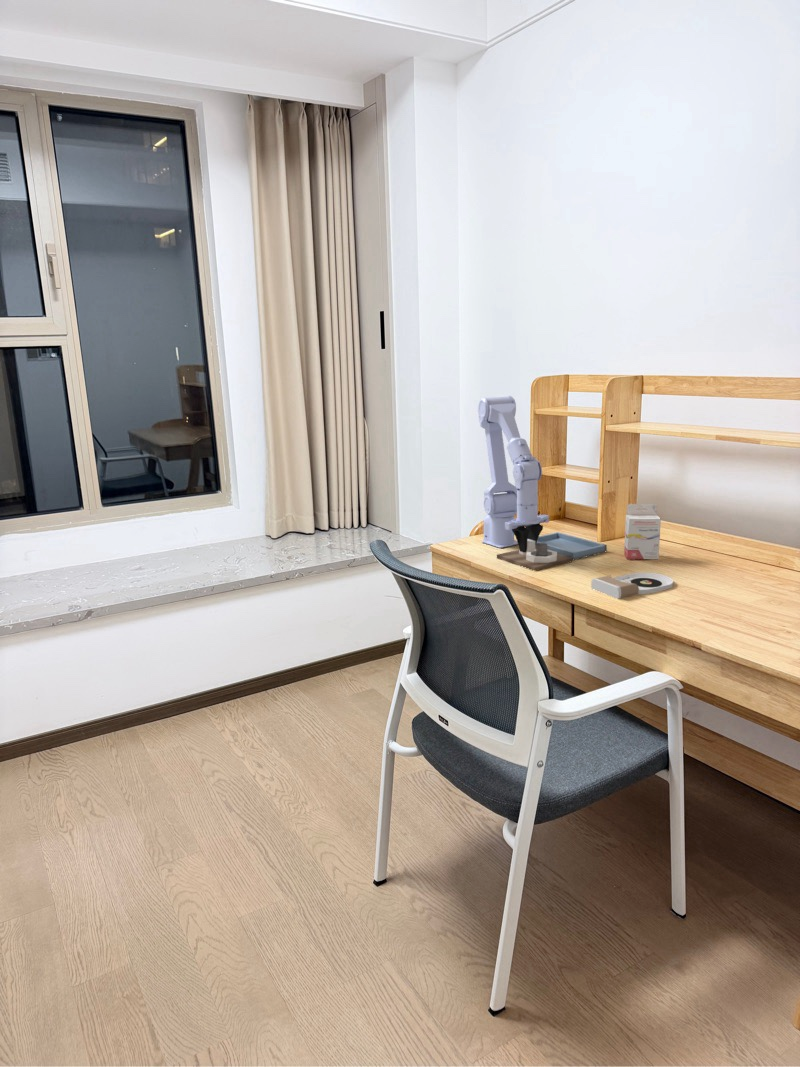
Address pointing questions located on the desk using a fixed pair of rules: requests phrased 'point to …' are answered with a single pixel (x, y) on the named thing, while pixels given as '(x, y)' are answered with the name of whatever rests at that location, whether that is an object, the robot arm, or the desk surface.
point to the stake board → (529, 564)
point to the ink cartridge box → (642, 532)
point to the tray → (571, 545)
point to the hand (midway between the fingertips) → (527, 550)
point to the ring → (538, 559)
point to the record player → (632, 584)
